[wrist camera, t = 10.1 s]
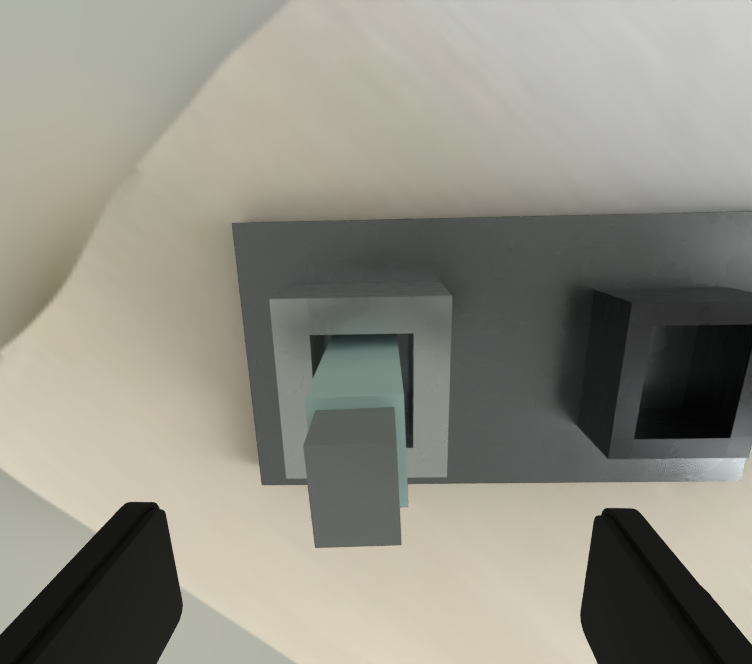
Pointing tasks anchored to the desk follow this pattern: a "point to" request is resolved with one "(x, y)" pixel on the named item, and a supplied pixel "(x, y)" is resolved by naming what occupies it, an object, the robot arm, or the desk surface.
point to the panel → (516, 341)
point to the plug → (356, 443)
